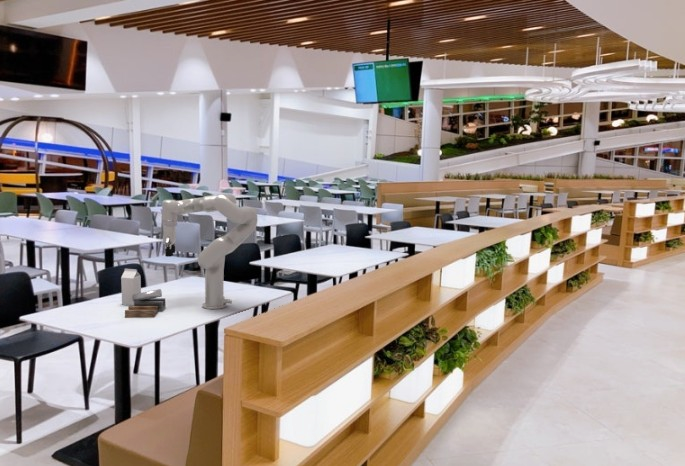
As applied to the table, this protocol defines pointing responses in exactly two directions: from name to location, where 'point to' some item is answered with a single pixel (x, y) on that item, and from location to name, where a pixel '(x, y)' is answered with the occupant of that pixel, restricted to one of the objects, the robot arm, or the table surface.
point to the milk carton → (130, 286)
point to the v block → (153, 303)
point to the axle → (147, 295)
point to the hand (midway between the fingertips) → (170, 254)
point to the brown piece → (141, 311)
